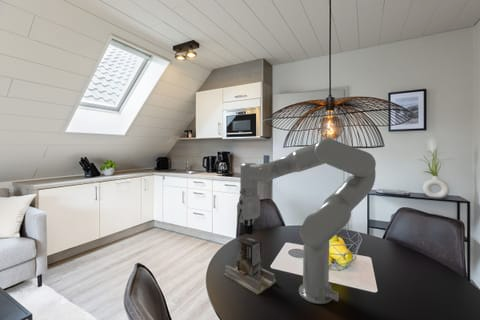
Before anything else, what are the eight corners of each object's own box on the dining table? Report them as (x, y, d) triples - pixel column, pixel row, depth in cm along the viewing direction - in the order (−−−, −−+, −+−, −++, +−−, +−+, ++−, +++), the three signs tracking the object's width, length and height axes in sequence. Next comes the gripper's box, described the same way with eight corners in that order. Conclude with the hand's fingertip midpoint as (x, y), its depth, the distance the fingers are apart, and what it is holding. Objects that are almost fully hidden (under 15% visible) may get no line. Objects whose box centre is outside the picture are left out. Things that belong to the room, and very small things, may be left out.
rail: (242, 266, 116) (242, 256, 115) (276, 282, 102) (276, 271, 101) (223, 275, 107) (223, 265, 107) (257, 294, 93) (257, 282, 93)
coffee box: (262, 277, 103) (262, 241, 103) (252, 283, 99) (252, 245, 98) (246, 270, 110) (246, 235, 109) (236, 275, 105) (236, 239, 104)
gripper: (243, 195, 95) (243, 240, 96) (266, 190, 105) (266, 231, 106) (230, 192, 100) (230, 235, 101) (253, 188, 111) (253, 227, 111)
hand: (248, 233), depth 103 cm, fingers closed
